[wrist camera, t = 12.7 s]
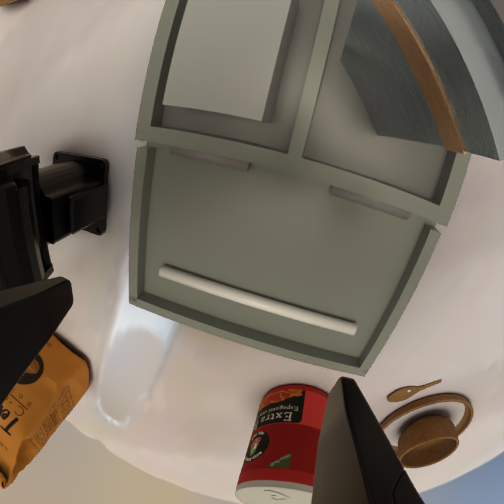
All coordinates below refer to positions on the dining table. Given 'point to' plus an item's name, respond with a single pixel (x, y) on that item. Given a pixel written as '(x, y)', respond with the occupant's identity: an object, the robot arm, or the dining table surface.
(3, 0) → the bread roll
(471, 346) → the dining table surface
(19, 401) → the coffee package
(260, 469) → the canned food
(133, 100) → the dining table surface
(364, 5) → the block
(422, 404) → the place setting
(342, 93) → the case
